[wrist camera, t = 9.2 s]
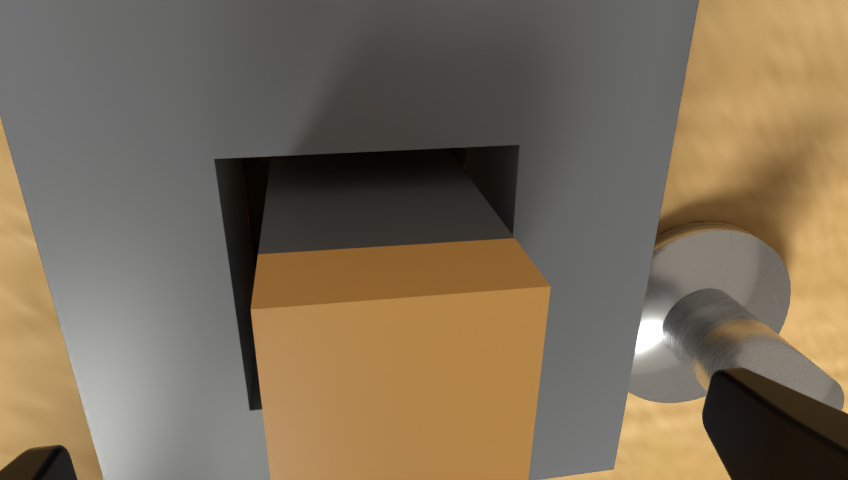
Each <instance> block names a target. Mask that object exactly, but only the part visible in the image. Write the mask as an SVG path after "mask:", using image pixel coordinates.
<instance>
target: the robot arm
mask: <svg viewBox="0 0 848 480" xmlns="http://www.w3.org/2000/svg"><path fill="white" fill-rule="evenodd" d="M702 419H703V424H704V427H705V430H706V432H707V434H708V436H709V438H710V440H711V442H712V444H713V445H714V447H715V449H716V451H717V453H718V455H719V457H720V459H721V461H722V463H723V465H724V467H725V468H726V470H727V472H728V474H729V476H730V478H731V480H848V414H847V413H845V412H843V411H840V410H838V409H836V408H834V407H831V406H829V405H827V404H825V403H822V402H820V401H818V400H816V399H813V398H811V397H809V396H807V395H804V394H802V393H800V392H798V391H795V390H793V389H791V388H789V387H786V386H784V385H782V384H780V383H777V382H775V381H773V380H771V379H768V378H766V377H764V376H762V375H760V374H757V373H755V372H753V371H751V370H748V369H746V368H742V367H735V368H726V369H719V370H717V371H715V372H714V373H713V375H712V376H711V379H710V383H709V387H708V391H707V395H706V399H705V403H704V407H703V412H702ZM0 480H77V477H76V474H75V471H74V467H73V464H72V461H71V458H70V455H69V452H68V450H67V449H66V448H65V447H64V446H61V445H54V446H45V447H37V448H31V449H28V450H26V451H25V452H23V453H22V454H20V455H19V456H18V457H17V458H15V459H14V460H13V461H12V462H10V463H9V464H8V465H7V466H5V467H4V468H3V469H2V470H0Z"/></svg>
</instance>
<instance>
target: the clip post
mask: <svg viewBox="0 0 848 480" xmlns="http://www.w3.org/2000/svg"><path fill="white" fill-rule="evenodd" d="M790 294H791V290H790V280H789V275H788V271H787V269H786V266H785V264H784V262H783V261H782V259H781V257H780V256H779V255H778V253H777V252H776V251H775V250H774V249H773V248H772V247H770V246H769V245H768V244H766V243H765V242H763V241H762V240H760V239H759V238H757V237H756V236H754V235H752V234H751V233H749V232H748V231H746V230H744V229H742V228H740V227H738V226H735V225H732V224H728V223H724V222H716V221H702V222H695V223H689V224H685V225H681V226H678V227H675V228H673V229H670V230H667V231H665V232H663V233H661V234H659V235H657V236H656V239H655V245H654V250H653V256H652V261H651V267H650V272H649V278H648V283H647V289H646V294H645V300H644V305H643V311H642V316H641V322H640V327H639V333H638V338H637V344H636V349H635V355H634V360H633V366H632V371H631V377H630V382H629V388H628V391H629V392H630V393H632V394H634V395H636V396H638V397H640V398H643V399H646V400H649V401H654V402H661V403H677V402H685V401H690V400H695V399H698V398H702V397H705V396H706V395H707V391H708V387H709V383H710V379H711V376H712V375H713V373H714V372H715V371H717V370H719V369H726V368H735V367H742V368H746V369H748V370H751V371H753V372H755V373H757V374H760V375H762V376H764V377H766V378H768V379H771V380H773V381H775V382H777V383H780V384H782V385H784V386H786V387H789V388H791V389H793V390H795V391H798V392H800V393H802V394H804V395H807V396H809V397H811V398H813V399H816V400H818V401H820V402H822V403H825V404H827V405H829V406H831V407H834V408H836V409H838V410H840V411H842V408H843V404H844V394H843V390H842V388H841V386H840V385H839V384H838V383H837V382H836V381H835V380H834V379H833V378H831V377H830V376H829V375H828V374H826V373H825V372H824V371H823V370H821V369H820V368H819V367H818V366H816V365H815V364H814V363H813V362H811V361H810V360H809V359H808V358H807V357H805V356H804V355H803V354H802V353H800V352H799V351H798V350H797V349H795V348H794V347H793V346H792V345H790V344H789V343H788V342H787V341H785V340H784V339H783V338H782V337H781V336H779V333H780V331H781V329H782V326H783V324H784V321H785V319H786V316H787V313H788V308H789V304H790Z"/></svg>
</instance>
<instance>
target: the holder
mask: <svg viewBox="0 0 848 480" xmlns="http://www.w3.org/2000/svg"><path fill="white" fill-rule="evenodd" d="M698 2H699V0H0V117H1V120H2V124H3V127H4V131H5V135H6V138H7V142H8V145H9V149H10V152H11V156H12V159H13V163H14V166H15V170H16V173H17V177H18V180H19V184H20V187H21V191H22V194H23V198H24V201H25V205H26V208H27V212H28V215H29V219H30V222H31V226H32V229H33V233H34V236H35V240H36V243H37V247H38V250H39V254H40V257H41V261H42V264H43V268H44V272H45V275H46V279H47V282H48V286H49V289H50V293H51V296H52V300H53V303H54V307H55V310H56V314H57V317H58V321H59V324H60V328H61V331H62V335H63V338H64V342H65V345H66V349H67V352H68V356H69V359H70V363H71V366H72V370H73V373H74V377H75V380H76V384H77V387H78V391H79V394H80V398H81V402H82V405H83V409H84V412H85V416H86V419H87V423H88V426H89V430H90V433H91V437H92V440H93V444H94V447H95V451H96V454H97V458H98V461H99V465H100V468H101V472H102V475H103V479H104V480H271V479H270V470H269V462H268V453H267V445H266V436H265V428H264V419H263V411H262V402H261V394H260V385H259V377H258V368H257V360H256V351H255V343H254V334H253V326H252V318H251V303H252V295H253V288H254V280H255V266H254V258H253V250H252V242H251V234H250V225H249V217H248V209H247V201H246V193H245V185H244V176H243V168H242V160H241V158H247V157H268V156H290V155H311V154H333V153H354V152H376V151H397V150H419V149H440V148H462V147H467V160H466V174H467V175H468V176H469V178H470V179H471V180H472V182H473V183H474V184H475V186H476V187H477V188H478V190H479V191H480V192H481V194H482V195H483V196H484V198H485V199H486V200H487V202H488V203H489V204H490V206H491V207H492V208H493V210H494V211H495V212H496V214H497V215H498V216H499V218H500V219H501V220H502V222H503V223H504V224H505V226H506V227H507V228H508V230H509V231H510V232H511V234H512V235H513V236H514V238H515V239H516V240H517V242H518V243H519V244H520V246H521V247H522V249H523V250H524V251H525V253H526V254H527V255H528V257H529V258H530V259H531V261H532V262H533V263H534V265H535V266H536V267H537V269H538V270H539V271H540V273H541V274H542V275H543V277H544V278H545V279H546V281H547V282H548V283H549V285H550V286H551V289H550V297H549V306H548V314H547V323H546V332H545V340H544V349H543V358H542V366H541V375H540V383H539V392H538V401H537V409H536V418H535V427H534V435H533V444H532V453H531V461H530V470H529V478H528V480H541V479H548V478H555V477H562V476H569V475H576V474H584V473H591V472H598V471H605V470H612V469H614V465H615V460H616V454H617V449H618V443H619V438H620V432H621V427H622V421H623V416H624V410H625V405H626V399H627V394H628V388H629V382H630V377H631V371H632V366H633V360H634V355H635V349H636V344H637V338H638V333H639V327H640V322H641V316H642V311H643V305H644V300H645V294H646V289H647V283H648V278H649V272H650V267H651V261H652V256H653V250H654V245H655V239H656V234H657V228H658V223H659V217H660V212H661V206H662V201H663V195H664V190H665V184H666V178H667V173H668V167H669V162H670V156H671V151H672V145H673V140H674V134H675V129H676V123H677V118H678V112H679V107H680V101H681V96H682V90H683V85H684V79H685V74H686V68H687V63H688V57H689V52H690V46H691V41H692V35H693V30H694V24H695V19H696V13H697V8H698Z"/></svg>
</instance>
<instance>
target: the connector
mask: <svg viewBox="0 0 848 480" xmlns="http://www.w3.org/2000/svg"><path fill="white" fill-rule="evenodd" d="M550 289H551V286H550V285H549V283H548V282H547V281H546V279H545V278H544V277H543V275H542V274H541V273H540V271H539V270H538V269H537V267H536V266H535V265H534V263H533V262H532V261H531V259H530V258H529V257H528V255H527V254H526V253H525V251H524V250H523V249H522V247H521V246H520V244H519V243H518V242H517V240H516V239H515V238H514V236H513V235H512V234H511V232H510V231H509V230H508V228H507V227H506V226H505V224H504V223H503V222H502V220H501V219H500V218H499V216H498V215H497V214H496V212H495V211H494V210H493V208H492V207H491V206H490V204H489V203H488V202H487V200H486V199H485V198H484V196H483V195H482V194H481V192H480V191H479V190H478V188H477V187H476V186H475V184H474V183H473V182H472V180H471V179H470V178H469V176H468V175H467V174H466V172H465V171H464V170H463V168H462V167H461V166H460V164H459V163H458V161H457V160H456V159H455V157H454V156H453V155H452V153H451V152H450V151H449V149H448V148H440V149H419V150H397V151H376V152H354V153H333V154H311V155H290V156H271V162H270V169H269V177H268V184H267V191H266V199H265V206H264V214H263V221H262V229H261V236H260V243H259V251H258V258H257V266H256V273H255V280H254V288H253V295H252V303H251V318H252V326H253V334H254V343H255V351H256V360H257V368H258V377H259V385H260V394H261V402H262V411H263V419H264V428H265V436H266V445H267V453H268V462H269V470H270V479H271V480H528V478H529V470H530V461H531V453H532V444H533V435H534V427H535V418H536V409H537V401H538V392H539V383H540V375H541V366H542V358H543V349H544V340H545V332H546V323H547V314H548V306H549V297H550Z"/></svg>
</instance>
